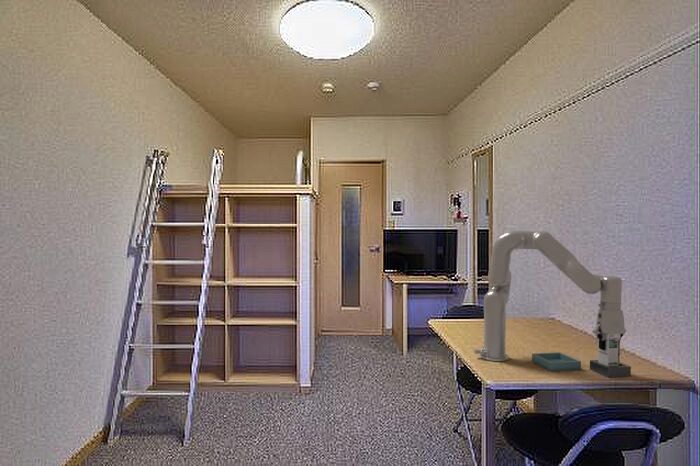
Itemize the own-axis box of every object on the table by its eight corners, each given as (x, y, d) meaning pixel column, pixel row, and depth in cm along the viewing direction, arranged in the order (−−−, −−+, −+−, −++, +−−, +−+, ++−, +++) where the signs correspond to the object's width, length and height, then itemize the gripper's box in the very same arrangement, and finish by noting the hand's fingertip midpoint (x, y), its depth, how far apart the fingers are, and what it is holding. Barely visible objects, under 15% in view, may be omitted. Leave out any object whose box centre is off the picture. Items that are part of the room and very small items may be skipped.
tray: (551, 371, 190) (551, 363, 190) (531, 361, 204) (532, 353, 204) (580, 369, 193) (580, 361, 193) (559, 359, 207) (559, 352, 206)
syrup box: (607, 366, 185) (608, 331, 185) (597, 362, 191) (598, 328, 191) (619, 366, 186) (620, 331, 186) (608, 361, 192) (610, 328, 192)
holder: (608, 377, 182) (608, 367, 182) (589, 369, 193) (589, 360, 193) (630, 376, 184) (630, 366, 184) (611, 368, 195) (611, 359, 195)
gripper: (598, 308, 183) (597, 352, 183) (635, 307, 186) (633, 351, 187) (585, 304, 190) (584, 347, 191) (621, 304, 193) (619, 346, 194)
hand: (608, 348), depth 189 cm, fingers closed on syrup box, 5 cm apart
